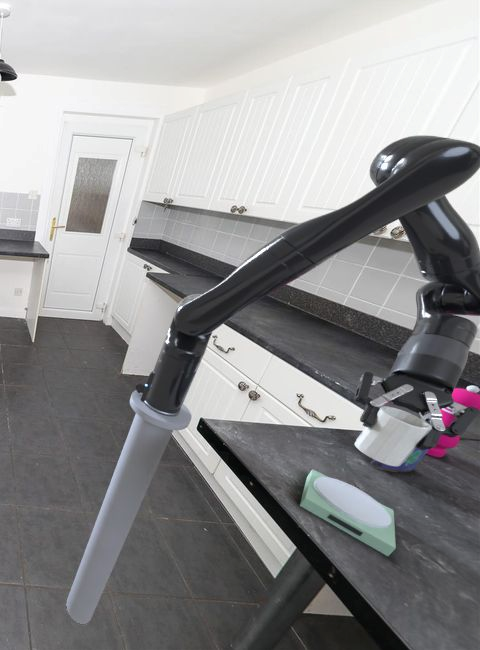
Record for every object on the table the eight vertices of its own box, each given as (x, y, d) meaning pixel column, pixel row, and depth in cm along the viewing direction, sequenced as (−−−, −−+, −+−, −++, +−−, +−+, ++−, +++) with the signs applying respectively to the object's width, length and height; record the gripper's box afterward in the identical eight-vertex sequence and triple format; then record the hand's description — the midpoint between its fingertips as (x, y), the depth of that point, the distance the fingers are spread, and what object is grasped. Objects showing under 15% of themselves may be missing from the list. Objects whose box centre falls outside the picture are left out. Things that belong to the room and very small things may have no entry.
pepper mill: (419, 439, 91) (469, 378, 83) (454, 460, 84) (512, 397, 77) (394, 436, 91) (441, 376, 83) (427, 457, 84) (482, 394, 77)
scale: (299, 506, 67) (307, 495, 66) (307, 476, 75) (314, 466, 74) (387, 557, 59) (398, 546, 58) (386, 518, 67) (396, 507, 65)
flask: (402, 463, 82) (430, 430, 77) (417, 473, 79) (446, 439, 75) (366, 460, 81) (392, 427, 77) (379, 470, 79) (407, 436, 74)
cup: (353, 450, 64) (380, 414, 61) (354, 437, 68) (380, 401, 64) (401, 472, 60) (433, 434, 56) (400, 456, 64) (430, 420, 60)
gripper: (380, 339, 66) (345, 408, 63) (507, 374, 56) (471, 458, 53) (366, 354, 71) (332, 419, 68) (479, 389, 61) (445, 466, 59)
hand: (393, 436), depth 61 cm, fingers closed on cup, 6 cm apart
